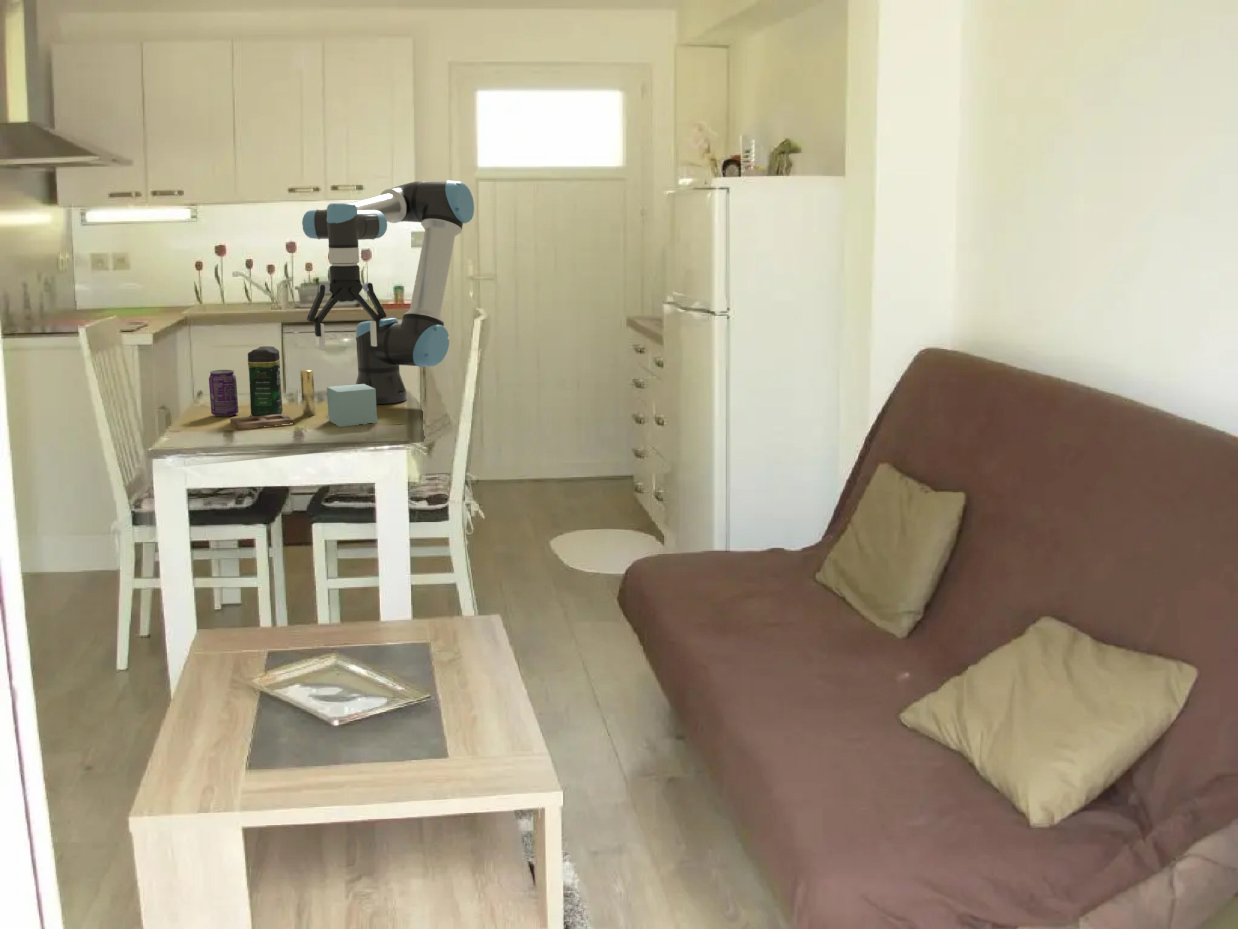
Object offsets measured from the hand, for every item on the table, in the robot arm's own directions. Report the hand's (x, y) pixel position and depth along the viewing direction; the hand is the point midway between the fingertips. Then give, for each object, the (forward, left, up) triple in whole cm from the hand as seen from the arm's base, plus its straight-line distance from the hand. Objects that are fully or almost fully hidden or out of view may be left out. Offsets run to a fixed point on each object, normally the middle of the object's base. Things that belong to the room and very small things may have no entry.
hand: (348, 347), depth 355 cm
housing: (0, 0, -20) cm, 20 cm away
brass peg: (+7, -17, -20) cm, 27 cm away
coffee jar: (+17, -22, -20) cm, 34 cm away
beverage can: (+27, -28, -20) cm, 44 cm away
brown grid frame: (+21, -9, -20) cm, 30 cm away
